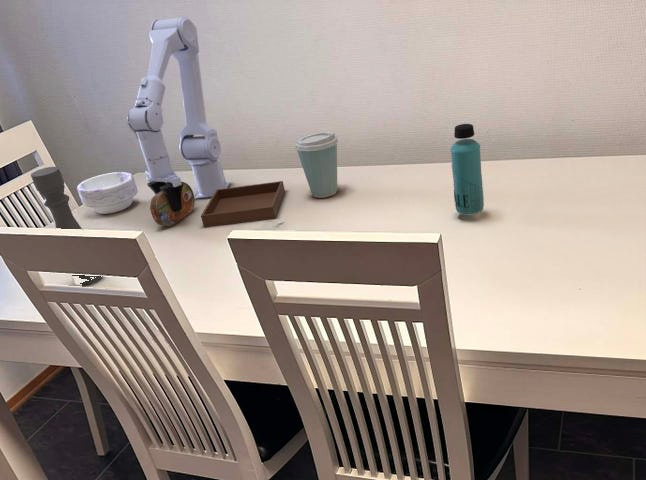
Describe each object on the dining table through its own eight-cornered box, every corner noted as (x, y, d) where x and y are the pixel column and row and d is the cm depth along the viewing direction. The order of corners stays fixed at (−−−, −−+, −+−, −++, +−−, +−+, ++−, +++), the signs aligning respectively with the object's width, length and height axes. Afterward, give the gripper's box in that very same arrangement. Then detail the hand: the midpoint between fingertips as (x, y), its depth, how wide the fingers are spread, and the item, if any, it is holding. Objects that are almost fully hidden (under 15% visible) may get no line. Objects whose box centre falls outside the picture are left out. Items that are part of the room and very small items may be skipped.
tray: (219, 200, 190) (216, 189, 188) (285, 191, 188) (282, 180, 186) (203, 227, 175) (200, 215, 173) (275, 218, 173) (272, 206, 171)
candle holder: (78, 275, 160) (34, 169, 147) (105, 271, 160) (63, 164, 147) (71, 288, 155) (25, 178, 142) (99, 283, 155) (55, 173, 142)
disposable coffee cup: (298, 201, 180) (286, 142, 172) (316, 185, 188) (305, 129, 180) (335, 201, 176) (325, 141, 168) (352, 185, 184) (342, 127, 176)
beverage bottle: (487, 209, 158) (482, 119, 147) (481, 221, 153) (476, 129, 142) (458, 209, 161) (452, 121, 150) (452, 221, 156) (444, 131, 145)
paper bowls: (152, 197, 199) (143, 170, 195) (116, 219, 188) (106, 191, 184) (112, 196, 206) (102, 170, 201) (75, 217, 195) (64, 190, 190)
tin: (164, 231, 176) (153, 199, 171) (154, 231, 177) (143, 199, 173) (199, 207, 187) (189, 176, 182) (189, 207, 188) (179, 177, 184)
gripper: (128, 157, 176) (145, 209, 183) (156, 165, 166) (173, 219, 174) (153, 149, 180) (169, 199, 187) (181, 156, 170) (197, 209, 177)
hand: (172, 208), depth 181 cm, fingers closed on tin, 4 cm apart
